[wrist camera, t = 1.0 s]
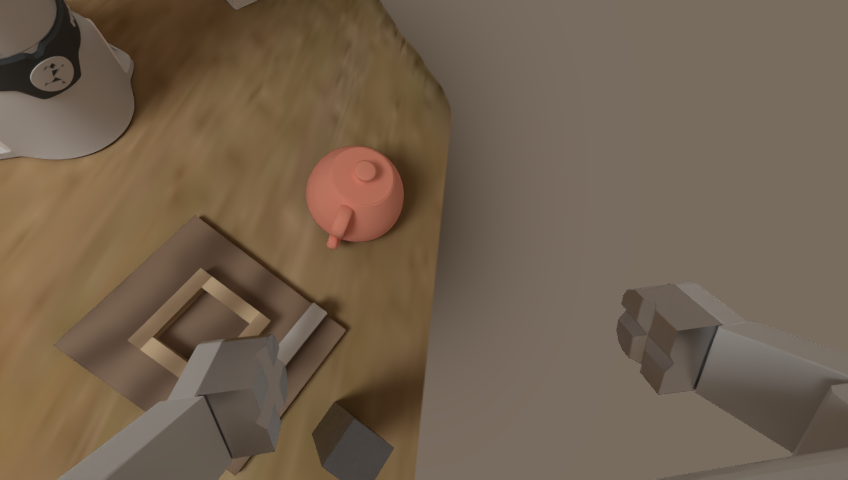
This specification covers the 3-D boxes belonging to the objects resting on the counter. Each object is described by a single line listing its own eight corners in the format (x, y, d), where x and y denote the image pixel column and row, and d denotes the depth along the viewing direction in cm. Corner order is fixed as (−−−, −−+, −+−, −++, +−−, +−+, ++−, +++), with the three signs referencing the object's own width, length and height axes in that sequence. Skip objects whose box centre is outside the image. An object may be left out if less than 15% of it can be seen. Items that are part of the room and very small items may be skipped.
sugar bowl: (410, 186, 58) (433, 151, 48) (371, 274, 52) (389, 254, 43) (330, 146, 56) (338, 102, 46) (282, 233, 50) (279, 204, 41)
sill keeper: (58, 345, 41) (41, 344, 38) (197, 217, 48) (191, 209, 45) (236, 473, 42) (232, 481, 39) (345, 330, 49) (348, 328, 47)
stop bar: (311, 433, 45) (322, 466, 31) (334, 401, 47) (354, 418, 32) (340, 454, 46) (364, 497, 31) (362, 422, 47) (394, 447, 33)
